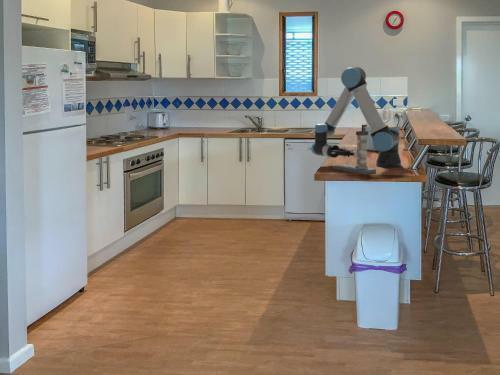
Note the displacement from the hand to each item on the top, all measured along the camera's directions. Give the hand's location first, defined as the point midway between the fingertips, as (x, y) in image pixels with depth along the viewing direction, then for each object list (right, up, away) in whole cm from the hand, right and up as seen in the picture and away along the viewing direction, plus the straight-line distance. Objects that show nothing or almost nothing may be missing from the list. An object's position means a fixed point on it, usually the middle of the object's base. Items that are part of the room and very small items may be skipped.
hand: (358, 154), depth 415 cm
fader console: (-2, -9, +5) cm, 11 cm away
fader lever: (+2, -8, 0) cm, 8 cm away
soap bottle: (+26, +8, +105) cm, 109 cm away
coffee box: (+27, +12, +130) cm, 133 cm away
